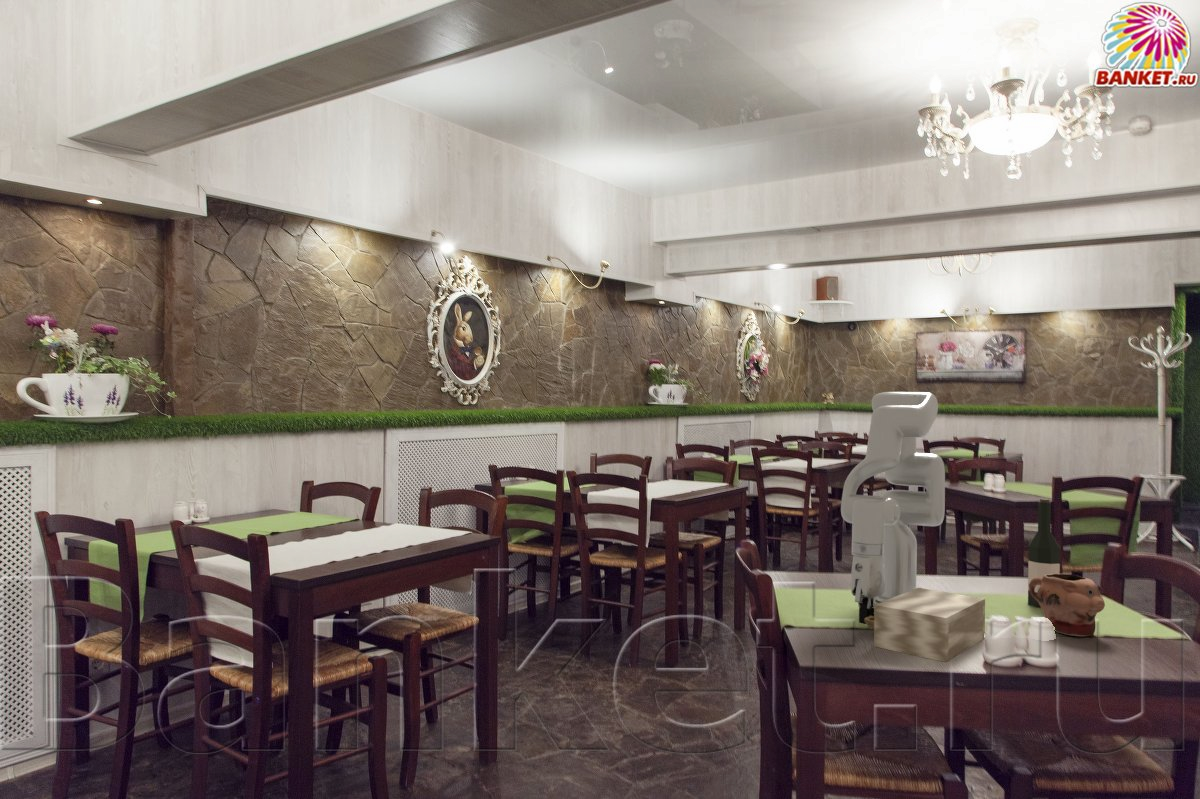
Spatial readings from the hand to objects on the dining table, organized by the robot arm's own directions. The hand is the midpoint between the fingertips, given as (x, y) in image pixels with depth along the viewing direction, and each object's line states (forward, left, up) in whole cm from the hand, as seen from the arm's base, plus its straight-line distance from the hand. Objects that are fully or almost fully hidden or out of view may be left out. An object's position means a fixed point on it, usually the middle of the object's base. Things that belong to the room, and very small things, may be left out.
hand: (866, 623), depth 199 cm
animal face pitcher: (+36, +35, -2) cm, 50 cm away
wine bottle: (+25, +61, -2) cm, 66 cm away
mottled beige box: (+16, 0, -1) cm, 16 cm away
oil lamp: (+7, +1, -2) cm, 8 cm away
